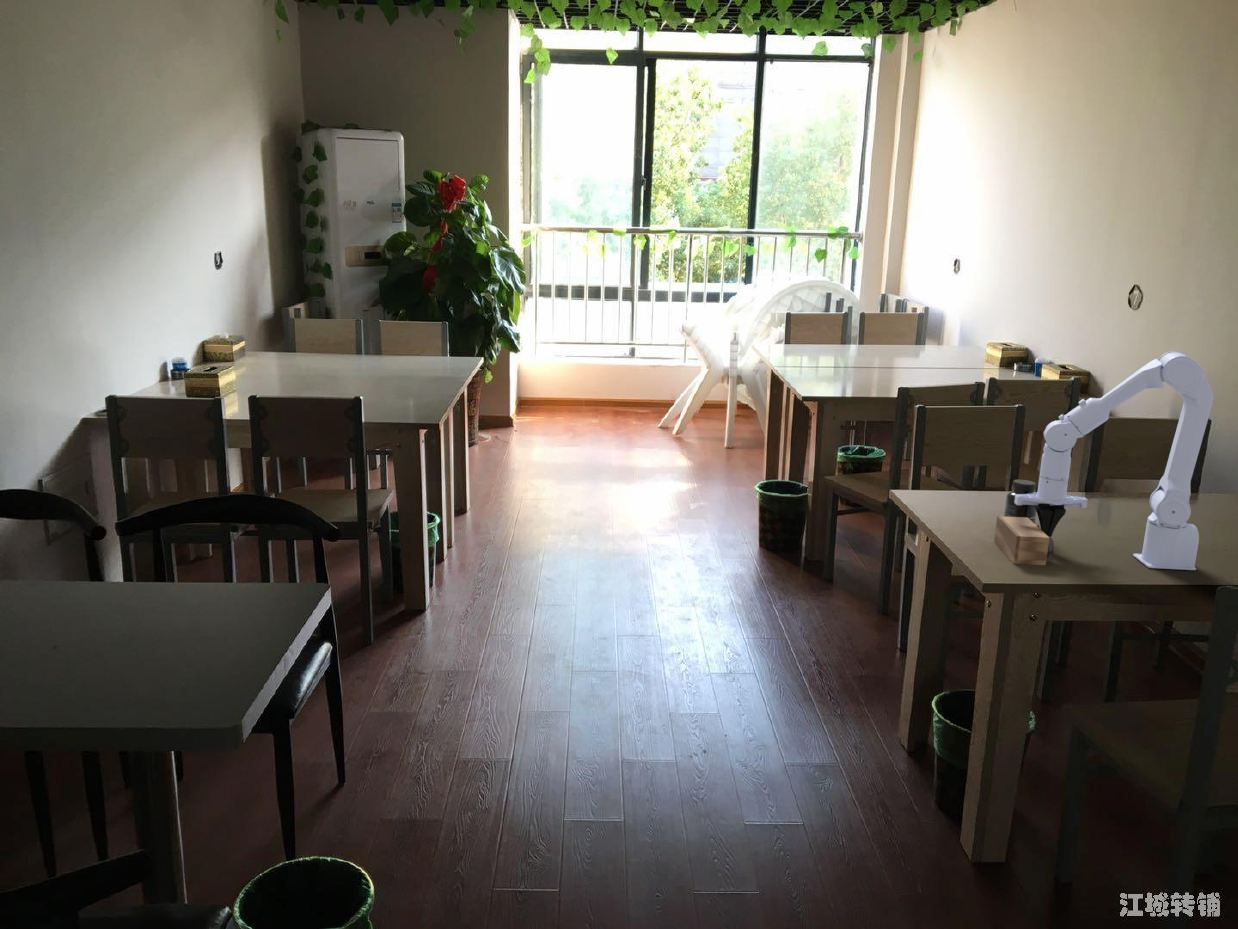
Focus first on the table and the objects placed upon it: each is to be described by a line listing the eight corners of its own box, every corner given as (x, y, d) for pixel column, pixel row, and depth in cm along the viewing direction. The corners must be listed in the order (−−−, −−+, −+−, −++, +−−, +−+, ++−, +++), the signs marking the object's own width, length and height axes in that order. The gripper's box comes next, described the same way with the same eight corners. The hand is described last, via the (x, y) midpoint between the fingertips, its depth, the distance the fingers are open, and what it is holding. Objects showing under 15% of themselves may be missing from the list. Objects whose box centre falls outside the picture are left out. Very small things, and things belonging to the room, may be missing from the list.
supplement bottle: (1036, 538, 221) (1043, 487, 218) (1004, 536, 222) (1011, 484, 219) (1030, 529, 228) (1037, 479, 225) (999, 526, 229) (1005, 477, 226)
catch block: (1024, 543, 217) (1027, 517, 216) (1045, 565, 204) (1049, 537, 202) (994, 542, 218) (997, 516, 216) (1013, 563, 204) (1017, 536, 203)
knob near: (1044, 553, 209) (1047, 533, 208) (1051, 561, 204) (1054, 540, 203) (1011, 552, 209) (1014, 531, 208) (1018, 559, 205) (1020, 538, 204)
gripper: (1025, 480, 207) (1017, 541, 210) (1096, 483, 206) (1087, 545, 209) (1014, 472, 214) (1007, 531, 217) (1083, 474, 213) (1075, 534, 216)
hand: (1045, 537), depth 214 cm, fingers closed
